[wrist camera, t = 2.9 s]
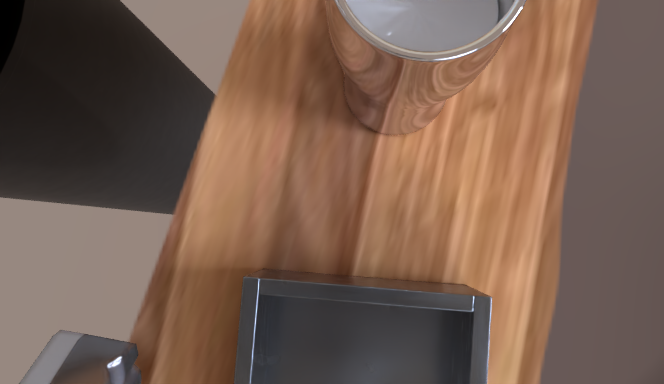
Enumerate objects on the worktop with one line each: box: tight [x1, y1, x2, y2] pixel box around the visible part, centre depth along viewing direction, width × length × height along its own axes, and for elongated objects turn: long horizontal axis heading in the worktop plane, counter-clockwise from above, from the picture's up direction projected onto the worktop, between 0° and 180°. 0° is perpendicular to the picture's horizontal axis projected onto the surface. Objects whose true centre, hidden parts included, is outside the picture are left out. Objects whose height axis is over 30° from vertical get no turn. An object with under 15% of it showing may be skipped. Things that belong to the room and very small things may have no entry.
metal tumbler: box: [326, 0, 526, 135], centre depth 25 cm, size 7×7×15 cm
